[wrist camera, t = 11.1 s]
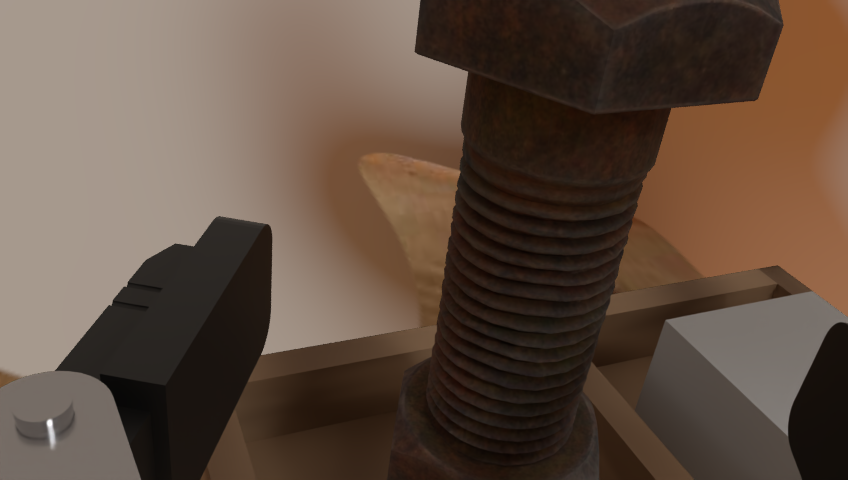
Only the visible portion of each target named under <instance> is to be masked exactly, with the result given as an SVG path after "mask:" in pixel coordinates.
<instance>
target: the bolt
mask: <svg viewBox="0 0 848 480" xmlns="http://www.w3.org/2000/svg"><path fill="white" fill-rule="evenodd" d="M782 28H783V20H782V15H781V11H780V6H779V1H778V0H421V1H420V10H419V18H418V27H417V36H416V45H415V52H416V53H417V54H419V55H422V56H425V57H428V58H431V59H433V60H436V61H439V62H442V63H445V64H448V65H451V66H454V67H457V68H460V69H462V70H465V71H468V78H467V85H466V93H465V100H464V107H463V114H462V121H461V128H462V133H463V135H464V142H463V149H462V150H463V157H462V158H461V162H460V171H461V173H460V176H459V180H458V183H457V187H458V190H457V191H456V195H455V203H456V205H455V206H454V208H453V216H452V218H453V221H452V223H451V236H450V238H449V242H448V252H447V255H446V262H445V263H446V266H445V268H444V275H445V279H444V280H443V284H442V298H441V301H440V312H439V316H438V321H437V332H436V334H435V344H434V345H433V347H432V356H431V357H429V358H427V359H425V360H424V361H422V362H420V363H418V364H416V365H414V366H412V367H410V368H408V369H407V370H405V371H404V375H403V379H402V385H401V391H400V397H399V402H398V408H397V414H396V420H395V426H394V433H393V439H392V446H391V453H390V461H389V469H388V476H387V480H599V442H598V428H597V422H596V417H595V413H594V408H593V406H592V404H591V402H590V399H589V397H588V396H586V395H585V394H584V393H583V392H582V391H583V387H584V384H585V382H586V379H587V374H588V372H589V369H590V367H591V361H592V359H593V357H594V351H595V348H596V346H597V343H598V337H599V333H600V329H601V326H602V324H603V322H604V320H605V316H606V310H607V309H608V307H609V304H610V296H611V295H612V293H613V290H614V287H615V279H616V278H617V276H618V270H619V264H620V261H621V258H622V255H623V252H624V250H623V248H624V247H625V245H626V244H627V241H628V233H629V230H630V228H631V225H632V218H633V216H634V213H635V211H636V208H637V200H638V198H639V195H640V193H641V190H642V187H643V185H642V182H643V180H644V179H645V178H646V176H647V173H648V171H650V170H651V168H652V167H653V166H654V165H655V162H656V158H657V155H658V151H659V148H660V144H661V141H662V137H663V134H664V131H665V127H666V124H667V121H668V117H669V114H670V110H671V108H675V107H688V106H699V105H711V104H721V103H733V102H744V101H755V100H757V99H758V97H759V94H760V91H761V88H762V86H763V83H764V79H765V77H766V74H767V71H768V68H769V65H770V62H771V59H772V57H773V54H774V51H775V48H776V45H777V42H778V39H779V37H780V34H781V31H782Z"/></svg>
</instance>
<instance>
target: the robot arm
mask: <svg viewBox="0 0 848 480" xmlns="http://www.w3.org/2000/svg"><path fill="white" fill-rule="evenodd" d="M271 274H272V231H271V228H270V226H269V225H268V224H262V223H256V222H250V221H244V220H238V219H232V218H226V217H220V216H219V217H216V218H215V219H214V220H213V222H212V223H211V224H210V226H209V227H208V229H207V230H206V231H205V232H204V234H203V235H202V237H201V238H200V239H199V241H198V242H197V243H196V245H195V246H194V247H193V246H187V245H181V244H174V245H172V246H171V247H169V248H167V249H165V250H163V251H161V252H160V253H158V254H156V255H154V256H152V257H151V258H149V259H147V260H146V261H145V262H144V263H143V264H142V265H141V267H140V268H139V269H138V271H137V272H136V273H135V274H134V275H133V276H132V278H131V279H130V280H129V281H128V285H127V287H123V289H122V290H121V291H120V292H119V293H118V295H117V296H116V297H115V298H114V300H113V303H112V306H110V305H109V306H108V307H107V308H106V309H105V310H104V312H103V313H102V314H101V315H100V317H99V318H98V319H97V320H96V321H95V323H94V324H93V325H92V326H91V328H90V329H89V330H88V331H87V332H86V334H85V335H84V336H83V337H82V339H81V340H80V341H79V342H78V343H77V345H76V346H75V347H74V348H73V350H72V351H71V352H70V353H69V354H68V356H67V357H66V358H65V359H64V360H63V362H62V363H61V364H60V365H59V367H58V368H57V369H56V370H55V371H51V372H43V373H38V374H33V375H30V376H26V377H23V378H20V379H18V380H15V381H13V382H11V383H9V384H7V385H5V386H3V387H1V388H0V480H200V479H201V477H202V475H203V473H204V471H205V469H206V467H207V465H208V463H209V461H210V458H211V456H212V454H213V452H214V450H215V448H216V446H217V444H218V442H219V440H220V438H221V436H222V434H223V432H224V430H225V428H226V425H227V423H228V421H229V419H230V417H231V415H232V413H233V411H234V409H235V407H236V405H237V403H238V401H239V399H240V397H241V395H242V392H243V390H244V388H245V386H246V384H247V382H248V380H249V378H250V376H251V374H252V372H253V370H254V368H255V366H256V364H257V362H258V359H259V357H260V355H261V353H262V351H263V348H264V345H265V341H266V338H267V334H268V329H269V323H270V314H271V276H272V275H271ZM788 440H789V445H790V449H791V452H792V454H793V457H794V460H795V462H796V465H797V467H798V470H799V473H800V475H801V478H802V480H848V323H844V322H839V323H836V324H835V325H833V326H832V327H831V328H830V329H829V331H828V332H827V334H826V336H825V338H824V340H823V342H822V344H821V346H820V348H819V350H818V352H817V354H816V356H815V358H814V360H813V363H812V365H811V367H810V369H809V371H808V373H807V375H806V377H805V379H804V381H803V383H802V385H801V387H800V389H799V392H798V394H797V396H796V398H795V400H794V402H793V404H792V407H791V410H790V415H789V421H788Z"/></svg>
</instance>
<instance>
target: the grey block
mask: <svg viewBox="0 0 848 480" xmlns="http://www.w3.org/2000/svg"><path fill="white" fill-rule="evenodd" d="M839 322H844V323H848V317H847V316H846V315H844V314H843V313H842V312H840V311H839V310H837V309H836V308H835V307H833V306H832V305H831V304H829V303H828V302H827V301H825V300H824V299H822V298H821V297H820V296H818V295H817V294H815V293H814V292H813V291H811V292H806V293H801V294H795V295H790V296H785V297H780V298H775V299H770V300H765V301H760V302H755V303H749V304H744V305H739V306H734V307H729V308H724V309H719V310H714V311H709V312H704V313H698V314H693V315H688V316H683V317H678V318H673V319H668V320H665V323H664V326H663V329H662V332H661V334H660V337H659V340H658V343H657V346H656V349H655V352H654V355H653V358H652V361H651V364H650V367H649V370H648V372H647V375H646V378H645V381H644V384H643V387H642V390H641V393H640V396H639V399H638V402H637V405H636V408H635V412H636V413H637V414H638V415H639V417H640V418H641V419H642V420H643V421H644V422H645V424H646V425H647V426H648V427H649V428H650V429H651V430H652V432H653V433H654V434H655V435H656V436H657V437H658V438H659V440H660V441H661V442H662V443H663V444H664V445H665V446H666V448H667V449H668V450H669V451H670V452H671V453H672V454H673V456H674V457H675V458H676V459H677V460H678V461H679V463H680V464H681V465H682V466H683V467H684V468H685V469H686V471H687V472H688V473H689V474H690V475H691V476H692V477H693V479H694V480H802V478H801V475H800V473H799V470H798V467H797V465H796V462H795V460H794V457H793V454H792V452H791V449H790V445H789V440H788V421H789V415H790V410H791V407H792V404H793V402H794V400H795V398H796V396H797V394H798V392H799V389H800V387H801V385H802V383H803V381H804V379H805V377H806V375H807V373H808V371H809V369H810V367H811V365H812V363H813V360H814V358H815V356H816V354H817V352H818V350H819V348H820V346H821V344H822V342H823V340H824V338H825V336H826V334H827V332H828V331H829V329H830V328H831V327H832V326H833V325H835V324H836V323H839Z"/></svg>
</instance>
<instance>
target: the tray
mask: <svg viewBox="0 0 848 480" xmlns="http://www.w3.org/2000/svg"><path fill="white" fill-rule="evenodd" d="M811 291H812V290H810V289H809V288H808V287H806V286H805V285H804V284H802V283H801V282H800V281H798V280H797V279H795V278H794V277H793V276H791V275H790V274H789V273H787V272H786V271H784V270H783V269H782V268H781V267H779V266H772V267H766V268H760V269H754V270H749V271H743V272H737V273H731V274H726V275H720V276H714V277H708V278H703V279H697V280H691V281H685V282H680V283H674V284H668V285H662V286H657V287H651V288H645V289H639V290H634V291H628V292H622V293H616V294H612V295H611V296H610V304H609V307H608V309H607V310H606V316H605V320H604V322H603V324H602V326H601V329H600V333H599V337H598V343H597V346H596V348H595V351H594V357H593V359H592V361H591V367H590V369H589V372H588V374H587V379H586V382H585V384H584V387H583V391H582V392H583V393H584V394H585V395H586V396H588V397H589V399H590V402H591V404H592V406H593V408H594V413H595V417H596V422H597V428H598V442H599V480H694V479H693V477H692V476H691V475H690V474H689V473H688V472H687V471H686V469H685V468H684V467H683V466H682V465H681V464H680V463H679V461H678V460H677V459H676V458H675V457H674V456H673V454H672V453H671V452H670V451H669V450H668V449H667V448H666V446H665V445H664V444H663V443H662V442H661V441H660V440H659V438H658V437H657V436H656V435H655V434H654V433H653V432H652V430H651V429H650V428H649V427H648V426H647V425H646V424H645V422H644V421H643V420H642V419H641V418H640V417H639V415H638V414H637V413H636V412H635V408H636V405H637V402H638V399H639V396H640V393H641V390H642V387H643V384H644V381H645V378H646V375H647V372H648V370H649V367H650V364H651V361H652V358H653V355H654V352H655V349H656V346H657V343H658V340H659V337H660V334H661V332H662V329H663V326H664V323H665V320H668V319H673V318H678V317H683V316H688V315H693V314H698V313H704V312H709V311H714V310H719V309H724V308H729V307H734V306H739V305H744V304H749V303H755V302H760V301H765V300H770V299H775V298H780V297H785V296H790V295H795V294H801V293H806V292H811ZM818 296H819V295H818ZM436 332H437V325H432V326H427V327H421V328H415V329H410V330H404V331H398V332H392V333H387V334H381V335H375V336H369V337H364V338H358V339H352V340H346V341H341V342H335V343H329V344H323V345H318V346H312V347H306V348H300V349H294V350H289V351H283V352H277V353H272V354H266V355H260V357H259V359H258V362H257V364H256V366H255V368H254V370H253V372H252V374H251V376H250V378H249V380H248V382H247V384H246V386H245V388H244V390H243V392H242V395H241V397H240V399H239V401H238V403H237V405H236V407H235V409H234V411H233V413H232V415H231V417H230V419H229V421H228V423H227V425H226V428H225V430H224V432H223V434H222V436H221V438H220V440H219V442H218V444H217V446H216V448H215V450H214V452H213V454H212V456H211V458H210V461H209V463H208V465H207V467H206V469H205V471H204V473H203V475H202V477H201V479H200V480H387V476H388V469H389V461H390V453H391V446H392V439H393V433H394V426H395V420H396V414H397V408H398V402H399V397H400V391H401V385H402V379H403V375H404V371H405V370H407V369H408V368H410V367H412V366H414V365H416V364H418V363H420V362H422V361H424V360H425V359H427V358H429V357H431V356H432V347H433V345H434V344H435V334H436Z"/></svg>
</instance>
